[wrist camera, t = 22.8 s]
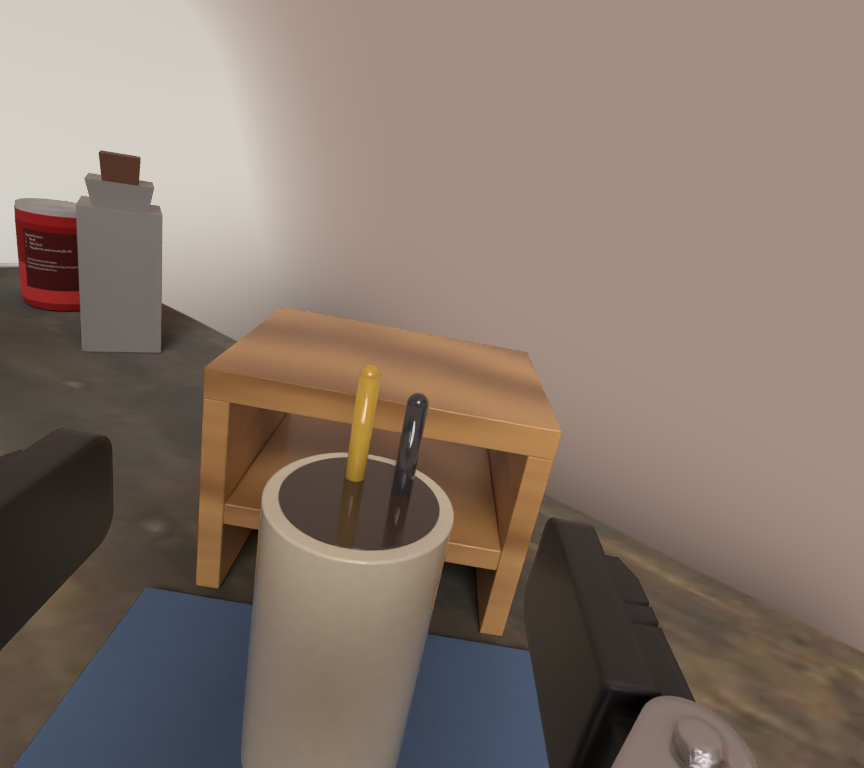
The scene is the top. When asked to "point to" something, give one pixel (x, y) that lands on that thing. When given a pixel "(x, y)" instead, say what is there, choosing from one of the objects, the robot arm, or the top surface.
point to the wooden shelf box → (379, 434)
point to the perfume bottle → (119, 259)
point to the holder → (343, 599)
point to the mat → (225, 687)
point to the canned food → (48, 253)
